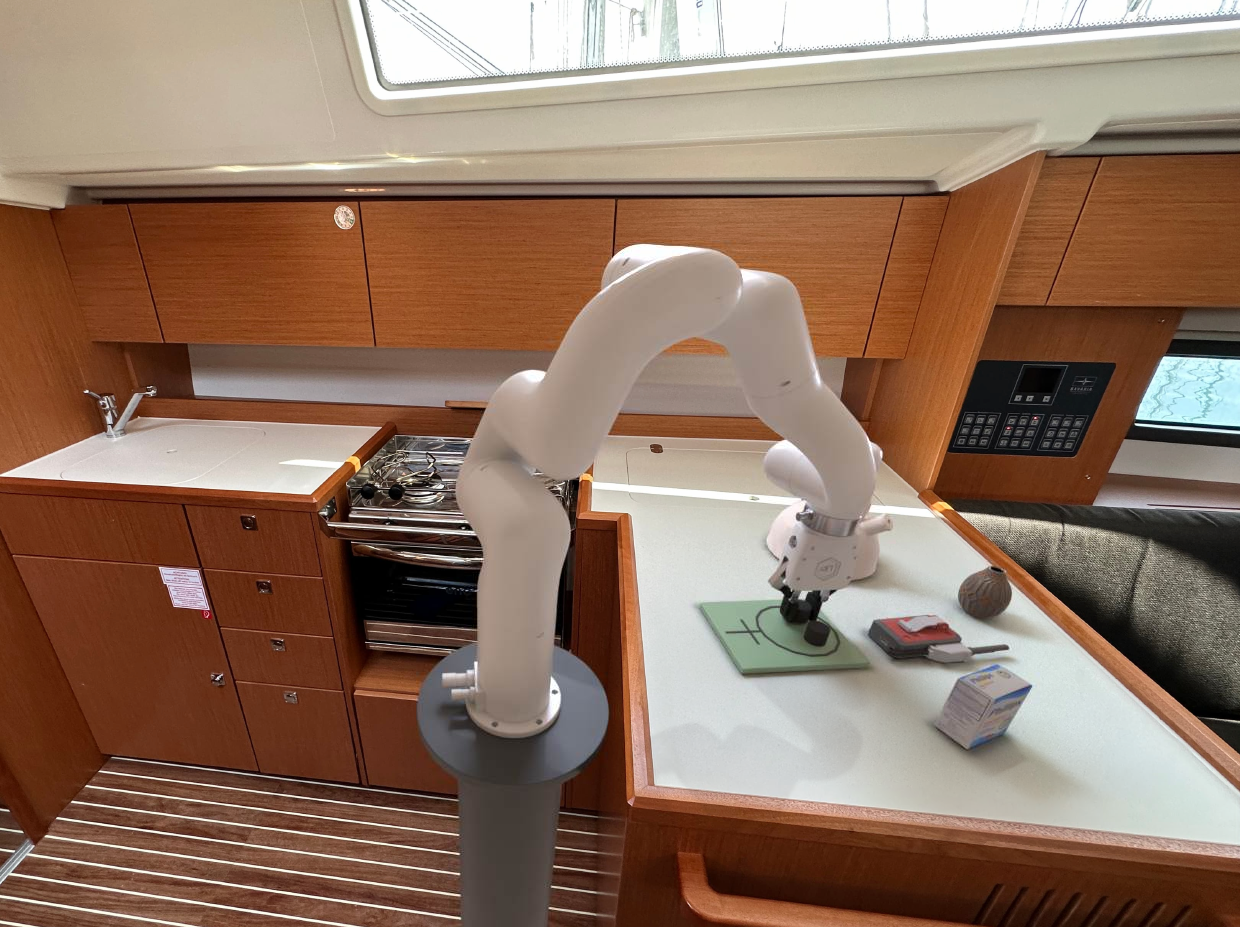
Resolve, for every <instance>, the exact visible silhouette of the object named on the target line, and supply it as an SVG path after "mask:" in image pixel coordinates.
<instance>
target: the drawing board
mask: <svg viewBox="0 0 1240 927" xmlns="http://www.w3.org/2000/svg"><path fill="white" fill-rule="evenodd" d="M798 599H799V600H803V601H805V598H798ZM782 600H783V599H764V600H737V601H706V602H703V601H702V602H699V606H698V607H699V610H700V611H701V612H702V614H703V615H704V617H705V619H706V621H707V622H708V623H709V625H710V628H712V631H713V632H714V633H715V634H716V636H717V638H718V640H719V641H720V643H721V644H722V646H723V648H724V649H725V650H726V652H727V654H728V655H729V657H730V659H731V660H732V662H733V664H734V665H735V666H736V668H737V669H738V671H739V672H740V674H741V675H745V674H747V675H748V674H766V673H785V672H804V671H805V672H806V671H825V670H844V669H847V670H848V669H867V668H868V667H869V666H870V662H869V661H868V659H867V658H866V657H865V656H864V655H863V654H862V653H861V652H860V651H859V650H858V648H857V647H855V646H854V644H853V643H852V642H851V641H850V640H849V639H848V638H847V637H846V636H845V634H843V632H841V630H840V629H839V628H837V626H836V625H835V624H834V623H833V622H832V621H831V620H830V618H828V617H827V615H825V613H824V612H822V610H821V609H820V612H819V614H818V617H817V620H816V621H820V622H822V623H825V624H826V625H827V626H829V628H830V634H829V636H828V639H827V642H826V644H825V645H824V646H822V647H817V646H813V645H811V644H809V643H808V642H806V641H805V639H804V633H805V631H806V628H807V625H808V622H810V621H809V619H808V622H807V623H804V624H799V623H796V622H793V623H788V622H787V621H786V620H785V618H784V617H783V616H782V615H781V613H780V606H781V603H782Z"/></svg>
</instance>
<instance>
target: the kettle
mask: <svg viewBox="0 0 1240 927" xmlns="http://www.w3.org/2000/svg"><path fill="white" fill-rule="evenodd" d="M800 499H801V498H800ZM805 504H806V501H805V500H803V499H801V500H797V501H796V502H794V503H792V504H790V505H789V506H787V507H786V508H784V509H783V510H782V511H781V512H780V513H779V515H778V516H777V517H776V518H775V519H774V520H773V522H772V525H771V528H770V531H769V533H768V535H767V538H766V539H765V540H766V545H767V548H768V550H769V551H770V553H772V554H773V555H774V557H775V558H776V559H778V560H779V559H780V556H781V553H782V551H783V548H784V546H785V543H786V541H787V539H788V537H789V535H790V533H791V531H792V529H793V527H794V526H795V524H796V522H798V521H797V520H796V514H797V513H798V512H803V510H804V506H805ZM871 507H872V498H871V499H870V501H869V502H868V503H867V505H866V506H865V508H864V511H863V514H862V516H861V519H860V522H859V525H858V528H857V530H859V531H860V545H859V552H858V557H857V561H856V565H855V568H854V572H853V575H852V578H851V580H850V582H852V581H857V580H862V579H866V578H868V577H870V576H871V575H873V574H874V572H875V571H876V570H877V563H878V561H879V560H878V559H879V555H880V552H881V550H880V549H881V548H880V539H879V534H881V533H884V532H891V531H892V530H893V529H894V523H893V519H892V517H891V516H890V514H888V513H882V514H880V515H876V516H872V517H869V516H868V514H869V512H870V509H871Z"/></svg>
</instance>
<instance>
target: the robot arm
mask: <svg viewBox="0 0 1240 927" xmlns="http://www.w3.org/2000/svg"><path fill="white" fill-rule="evenodd" d="M692 338H697V339H700V340H705V341H709V342H712V343H716V344H719V345H721V346H723V347H724V348H725V349H726V350H727V353H728V355H729V357H730V360H731V363H732V365H733V368H734V370H735V373H736V376H737V378H738V381H739V384H740V388H741V389H742V392H743V395H744V398H745V401H746V403H747V406H748V407H749V409H750V410H751V412H752V413H753V414H754V415H755V417H757V418H758V419H759V420H761V422H763V424H765V426H767V427H768V428H770V429H771V430H772V431H773V432H775V433H776V434H777V435H779V436H780V437H782V438H783V439H782V440H780V441H778V442H777V443H776V444H773V446H772V447H770V449H769V450H768V451H767V452H766V454H765V456H764V458H763V462H762V468H763V472H764V475H765V477H766V478H767V479H768V480H769V482H771V484H773V485H774V486H776V487H777V488H779V489H781V490H783V491H784V492H787V493H789V494H790V495H792V496H795V497H797V498H799V499H803V500H805V501H806V504H805V506H804V510H803V512H798V513H797V514H796V520H797V521H798V522H796V524H795V526H794V527H793V529H792V531H791V533H790V535H789V537H788V539H787V541H786V543H785V546H784V548H783V551H782V553H781V556H780V559H778V563H777V568H776V571H775V572H774V573H773V574H772V575H771V577H769V578H768V579H767V583H768V584H769V586H770V587H771V588H773V589H774V590H776V591H778V592H780V593H782V595H783V597H782V599H781V600H782V603H781V606H780V613H781V615H782V616H783V617H784V618H785V620H786V621H787V622H788V623H793V622H794V619H795V616H796V613H797V610H798V607H799V603H798V602H797V600H798V599H800V596H801V593H802V592H807V593H806V596H805V598H804V599H805V601H806V602H808V603H809V604H810V605H811V606H812V610H811V613H810V616H809V621H816V620H817V617H818V614H819V612H820V610H821V609H822V606H823V604H824V603H826V602H828V600H829V598H830V596H832V595H833V594H834V593H836V592H837V591H838V590H843V589H846V588H847V587H849V585H850V583H851V581H850V580H851V578H852V575H853V572H854V568H855V565H856V561H857V557H858V552H859V545H860V531H859V530H857V528H858V525H859V522H860V519H861V516H862V514H863V511H864V508H865V506H866V505H867V503H868V502H869V501H870V499H871V500H872V497H873V495H874V493H875V490H876V485H877V476H878V472H879V470H880V466H881V464H882V461H883V451H882V448H881V447H880V446H879V445H878V444H877V443H875V442H872V441H870V439H869V437H868V435H867V432H866V431H865V430H864V428H863V427H862V425H861V424H860V422H859V421H858V419H856V417H855V416H854V415H853V414H852V413H851V411H849V409H848V408H847V407H846V405H844V403H843V402H842V401H841V399H840V398H839V397H838V396H837V394H835V392H834V391H833V390H832V389H831V388H830V387H829V386H828V385H827V384H826V383H825V382H824V380H823V379H822V377H821V373H820V369H819V364H818V361H817V359H816V354H815V351H814V350H815V349H814V346H813V342H812V338H811V335H810V330H809V327H808V322H807V318H806V314H805V311H804V307H803V303H802V300H801V296H800V294H799V291H798V289H797V287H796V286H795V284H794V283H793V282H792V281H791V280H789V279H788V278H786V277H785V276H783V275H782V274H778V273H774V272H770V271H763V270H754V269H745V268H740V267H739V265H738V263H737V262H736V261H734V260H733V259H732V258H731V257H730V256H728V255H726V254H724V253H722V252H721V251H718V250H714V249H711V248H706V247H695V246H694V247H693V246H682V245H680V246H679V245H660V244H647V243H646V244H643V243H642V244H634V245H630V246H627V247H626V248H625V247H624V249H621V250H620V251H619V252H617V253H615V255H614V256H613V257H612V258H611V259H610V260H609V262H608V263H607V265H606V267H605V268H604V272H603V274H602V277H601V283H600V291H599V292H598V293H597V294H596V295H595V296H594V297H593V298H592V299H591V300H589V302H588V303H586V305H585V306H584V307H583V308H582V310H581V311H580V312H579V313H578V315H577V316H576V317H575V319H574V320H573V321H572V323H571V325H570V327H569V328H568V330H567V331H566V333H565V335H564V338H563V339H562V341H561V343H560V345H559V347H558V349H557V350H556V352H555V354H554V356H553V358H552V360H551V362H550V364H549V366H548V368H547V370H546V371H545V370H540V369H539V370H538V369H526V370H523V371H519V372H517V373H514V374H513V375H511V376H509V377H508V378H507V379H506V380H505V381H503V382H502V383H501V384H500V385H499V386H498V388H497V389H496V391H495V392H493V395H492V397H491V398H490V400H489V401H488V404H487V406H486V408H485V410H484V413H483V415H482V417H481V419H480V421H479V424H478V426H477V428H476V430H475V433H474V435H473V436H472V440H471V443H470V445H469V446H468V449H467V452H466V454H465V456H464V459H463V461H462V463H461V466H460V469H459V471H458V475H457V478H456V481H455V482H456V483H455V500H456V503H457V507H458V508H459V510H460V511H461V514H462V515H463V517H464V518H465V520H466V522H467V523H468V525H469V526H470V527H471V529H472V531H473V533H474V534H475V536H476V537H477V539H478V541H479V542H480V545H481V549H482V555H483V556H482V557H483V561H482V564H481V568H480V570H479V574H478V578H477V579H478V580H477V587H476V588H477V591H476V599H477V600H476V604H477V605H476V608H477V609H476V610H477V613H476V616H477V618H476V620H477V625H476V626H477V628H476V630H477V631H476V633H477V635H476V636H477V640H476V642H477V662H474V670H467V673H459V674H456V673H443V674H442V687H443V689H444V688H456V687H467V689H462V690H461V689H452V701H453V700H462V699H466V708H467V711H468V714H469V715H470V717H471V719H472V720H473V721H474V722H475V723H476V724H477V725H478V726H479V727H480V728H482V729H483V730H485V731H486V732H489V733H491V734H493V735H496V736H500V737H504V738H524V737H529V736H533V735H535V734H538V733H540V732H542V731H543V730H545V729H546V728H548V727H549V726H550V725H551V724H552V723H553V722H554V721H555V719H556V718H557V716H558V714H559V711H560V706H561V692H560V689H559V686H558V685H557V683H556V681H555V680H554V679H553V678H552V676H551V673H552V661H553V649H554V645H555V635H556V623H557V611H558V610H557V609H558V607H557V606H558V597H559V586H560V579H561V574H562V571H563V570H562V569H563V566H564V563H565V560H566V557H567V554H568V550H569V547H570V543H571V534H572V533H571V532H572V531H571V529H572V528H571V524H570V520H569V516H568V513H567V512H566V510H565V508H564V506H563V505H562V503H561V502H560V500H559V499H558V498H557V496H556V495H555V494H553V492H552V491H551V490H549V488H548V487H546V485H545V484H544V483H543V482H541V480H540V479H538V478H537V477H536V476H534V475H535V473H536V471H538V472H540V473H541V474H543V475H545V476H546V477H548V478H550V479H554V480H557V481H571V480H575V479H577V478H579V477H581V476H583V475H584V474H585V473H586V472H587V471H588V470H589V469H590V468H591V466H592V465H593V464H594V462H595V460H596V459H597V456H598V455H599V453H600V451H601V450H602V447H603V445H604V444H605V441H606V439H607V438H608V436H609V433H610V431H611V430H612V427H613V425H614V424H615V421H616V420H617V417H618V416H619V413H620V411H621V409H622V408H623V405H624V403H625V402H626V399H627V397H628V396H629V394H630V392H631V390H632V388H633V386H634V385H635V383H636V381H637V380H638V378H639V376H640V375H641V373H642V372H643V371H644V369H645V368H646V367H647V365H648V364H649V363H650V362H651V361H652V360H653V359H654V358H655V357H657V356H658V355H660V354H661V353H662V352H663V351H665V350H666V349H669V348H670V347H672V346H673V345H676V344H678V343H680V342H682V341H685V340H686V341H687V340H689V339H692Z"/></svg>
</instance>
